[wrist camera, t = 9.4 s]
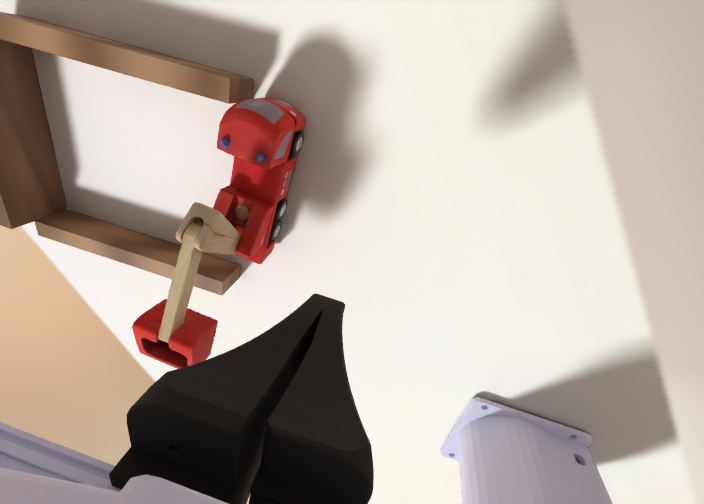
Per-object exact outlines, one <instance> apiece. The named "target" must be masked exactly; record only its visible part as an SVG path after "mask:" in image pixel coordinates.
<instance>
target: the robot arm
mask: <svg viewBox="0 0 704 504" xmlns="http://www.w3.org/2000/svg"><path fill="white" fill-rule="evenodd" d="M344 309H345V304H344V303H343V302H340V301H337V300H334V299H331V298H328V297H325V296H322V295H319V294H313V295H312V296H311V297H310V298H309V299H308V300H307V301H306V302H305V303H304V304H302V305H301V306H300V307H299V308H298V309H297V310H295V311H294V312H293V313H291V314H290V315H289V316H288V317H286V318H285V319H284V320H282V321H281V322H279V323H278V324H276V325H275V326H274V327H272V328H271V329H269V330H268V331H266V332H264V333H263V334H261V335H259V336H258V337H256V338H254V339H252V340H251V341H249V342H247V343H245V344H243V345H241V346H239V347H237V348H235V349H233V350H230V351H228V352H226V353H224V354H221V355H218V356H216V357H213V358H211V359H208V360H206V361H203V362H200V363H197V364H194V365H191V366H187V367H184V368H180V369H177V370H173V371H170V372H166V373H165V374H164V375H163V376H162V377H161V378H160V379H159V380H157V381H156V382H155V383H154V384H153V385H152V386H151V387H150V388H149V389H148V390H147V391H146V392H145V393H144V394H143V395H142V396H141V397H140V398H139V400H138V401H137V402H136V403H135V404H134V405H133V406H132V407H131V408H130V410H129V412H128V413H127V425H128V431H129V436H130V442H131V448H130V449H129V450H128V452H127V453H126V454H125V455H124V456H123V457H122V459H121V460H120V461H119V462H118V464H117V465H116V466H114V465H111V464H108V463H106V462H103V461H101V460H98V459H95V458H93V457H90V456H88V455H85V454H82V453H80V452H77V451H75V450H72V449H69V448H67V447H64V446H61V445H59V444H56V443H54V442H51V441H48V440H46V439H43V438H41V437H38V436H35V435H33V434H30V433H28V432H25V431H22V430H20V429H17V428H14V427H12V426H9V425H7V424H4V423H1V422H0V504H246V502H247V500H248V497H249V495H250V501H249V504H368V502H369V500H370V498H371V495H372V491H373V460H372V451H371V444H370V442H369V439H368V437H367V435H366V432H365V430H364V428H363V425H362V423H361V420H360V417H359V415H358V412H357V409H356V406H355V403H354V399H353V396H352V393H351V389H350V385H349V381H348V377H347V372H346V367H345V360H344V352H343V341H342V319H343V312H344ZM592 443H593V438H592V436H591V435H590V434H588V433H585V432H582V431H579V430H576V429H573V428H570V427H567V426H564V425H561V424H558V423H555V422H552V421H549V420H546V419H543V418H540V417H537V416H534V415H531V414H528V413H525V412H522V411H519V410H516V409H513V408H510V407H507V406H504V405H501V404H498V403H495V402H492V401H489V400H486V399H483V398H480V397H475V398H473V399H472V400H471V402H470V403H469V405H468V406H467V408H466V409H465V411H464V413H463V414H462V416H461V417H460V419H459V420H458V422H457V423H456V425H455V426H454V428H453V430H452V431H451V433H450V434H449V436H448V437H447V439H446V440H445V442H444V443H443V445H442V447H441V449H440V450H441V454H442V455H444V456H446V457H449V458H452V459H455V460H458V461H459V468H460V481H461V493H462V504H612V501H611V499H610V497H609V494H608V492H607V490H606V488H605V485H604V483H603V481H602V478H601V476H600V474H599V472H598V469H597V467H596V465H595V462H594V460H593V458H592V456H591V453H590V451H589V449H588V447H589V446H590V445H591V444H592ZM250 492H251V493H250Z"/></svg>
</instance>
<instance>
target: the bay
mask: <svg viewBox="0 0 704 504" xmlns="http://www.w3.org/2000/svg"><path fill="white" fill-rule="evenodd" d="M31 48H34V49H37V50H41V51H44V52H48V53H51V54H55V55H59V56H62V57H66V58H69V59H73V60H76V61H80V62H83V63H87V64H91V65H94V66H98V67H101V68H105V69H108V70H112V71H115V72H119V73H122V74H126V75H130V76H133V77H137V78H140V79H144V80H147V81H151V82H154V83H158V84H161V85H165V86H169V87H172V88H176V89H179V90H183V91H186V92H190V93H193V94H197V95H200V96H204V97H208V98H211V99H215V100H218V101H222V102H225V103H229V104H230V103H238V102H240V101H243V100H247V99H252V85H253V79H251V78H247V77H244V76H240V75H236V74H233V73H229V72H226V71H222V70H218V69H215V68H211V67H207V66H204V65H200V64H196V63H193V62H189V61H185V60H182V59H178V58H175V57H171V56H167V55H164V54H160V53H156V52H153V51H149V50H145V49H142V48H138V47H134V46H131V45H127V44H124V43H120V42H116V41H113V40H109V39H105V38H102V37H98V36H94V35H91V34H87V33H83V32H80V31H76V30H73V29H69V28H65V27H62V26H58V25H54V24H51V23H47V22H43V21H40V20H36V19H32V18H29V17H25V16H20V15H14V14H8V13H2V12H0V225H2V226H5V227H8V228H11V229H13V228H15V227H19V226H22V225H24V224H27V223H30V222H33V221H35V225H36V228H37V232H38V235H40V236H43V237H46V238H49V239H52V240H55V241H58V242H61V243H64V244H67V245H70V246H73V247H76V248H79V249H82V250H85V251H88V252H91V253H94V254H97V255H101V256H104V257H107V258H110V259H113V260H116V261H119V262H122V263H125V264H128V265H131V266H134V267H137V268H140V269H143V270H146V271H149V272H152V273H155V274H158V275H161V276H165V277H168V278H171V279H173V275H174V271H175V268H176V264H177V260H178V256H179V252H180V249H181V246H180V245H176V244H173V243H170V242H167V241H164V240H161V239H158V238H154V237H151V236H148V235H145V234H142V233H139V232H136V231H133V230H129V229H126V228H123V227H120V226H117V225H114V224H111V223H108V222H104V221H101V220H98V219H95V218H92V217H89V216H86V215H83V214H79V213H76V212H73V211H70V210H67V207H66V202H65V198H64V193H63V189H62V185H61V180H60V176H59V171H58V167H57V162H56V158H55V153H54V149H53V144H52V140H51V136H50V131H49V127H48V122H47V118H46V113H45V109H44V104H43V100H42V96H41V91H40V87H39V82H38V78H37V73H36V69H35V64H34V60H33V56H32V51H31ZM239 277H240V265H239V264H236V263H233V262H230V261H226V260H223V259H220V258H217V257H214V256H211V255H208V254H205V253H202V255H201V259H200V262H199V266H198V270H197V273H196V277H195V281H194V284H193V286H195V287H198V288H201V289H204V290H207V291H210V292H213V293H216V294H219V295H223V294H224V293H225V292H226V291H227V290H228V289H229V288H230V287H231V286H232V285H233V284H234V283H235V282H236V281H237V279H238V278H239Z"/></svg>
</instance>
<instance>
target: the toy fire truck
mask: <svg viewBox="0 0 704 504" xmlns="http://www.w3.org/2000/svg"><path fill="white" fill-rule="evenodd" d="M304 126H305V117H304V116H303V115H302V114H301V113H300V112H299V111H297V110H296V109H295V108H294V107H292V106H290V105H289V104H287V103H285V102H283V101H280V100H277V99H273V98H256V99H247V100H243V101H240V102H238V103H236V104H234V105H233V106H232V107H230V108H229V109H228V110H227V111H226V113H225V114H224V116H223V118H222V120H221V122H220V125H219V133H218V141H217V148H218V149H220V150H222V151H224V152H226V153H228V154H231V155H233V156H234V164H233V171H232V177H231V183H230V186H227V187H225V188H222V189H221V190H220V192H219V194H218V196H217V199H216V202H215V204H214V207H213V208H210V207H208V206H205V205H203V204H201V203H194V204H193V205H192V206H191V208H190V210H189V212H188V213H187V215H186V216H185V218H184V220H183V221H182V223H181V225H180V226H179V228H178V230H177V232H176V239H177V240H178V241H179V242H181V243H182V246H181V249H180V252H179V256H178V260H177V264H176V268H175V271H174V275H173V279H172V283H171V287H170V291H169V295H168V299H167V300H166V299H165V300H163V301H162V302H160V303H158V304H157V305H155V306H154V307H153V308H151V309H150V310H148V311H146V312H145V313H144V314H142V315H141V316H140V317H139V318H138V319H137V320H136V321H135V322H134V323H133V326H132V328H133V332H134V335H135V339H136V342H137V345H138V348H139V351H140V352H141V353H142V354H144V355H147V356H149V357H152V358H154V359H156V360H159V361H161V362H164V363H166V364H168V365H171V366H173V367H175V368H177V369H180V368H184V367H187V366H191V365H194V364H197V363H200V362H203V361H205V360H206V359H207V357H208V356H209V355H210V354H211V348H212V344H213V341H214V337H215V333H216V328H217V322H218V321H217V320H214V319H212V318H211V317H207V316H205V315H202V314H200V313H199V312H195V311H193V310H191V309H188V308H187V306H188V303H189V299H190V295H191V292H192V288H193V284H194V281H195V277H196V273H197V270H198V266H199V262H200V259H201V255H202V253H203V252H207V253H217V254H226V255H236V254H237V255H239V256H242V257H244V258H246V259H249V260H251V261H253V262H255V263H258V264H261V263H263V261H264V260H265V259H266V258H267V256H268V255H269V254H270V253H271V252H272V250H273V248H274V244H275V241H273V240H275V239H276V237H277V236H278V234H279V232H280V229H281V222H280V221H278V220H279V219H280V218H281V217H282V216H283V215H284V213H285V210H286V207H287V201H286V200H284V199H283V198H284V197H285V196H287V194H288V190H289V186H290V182H291V178H292V174H293V171H294V166H295V163H296V157H295V155H296V154H297V153H298V152H299V151H300V149H301V147H302V144H303V140H304V134H303V133H302V129H303V128H304ZM274 218H275V219H277V220H275V219H274Z"/></svg>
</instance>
